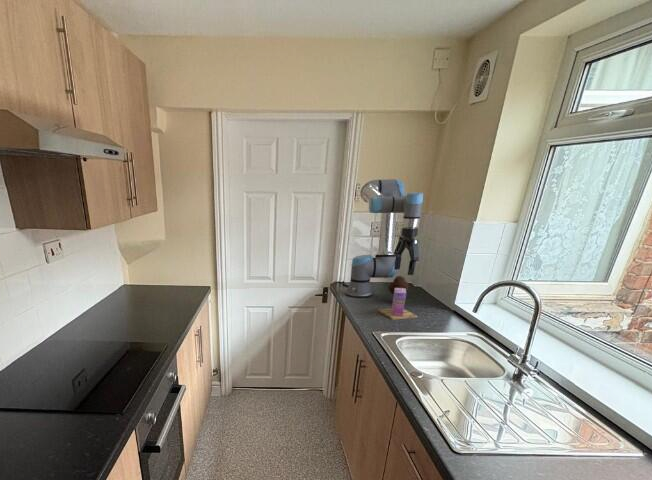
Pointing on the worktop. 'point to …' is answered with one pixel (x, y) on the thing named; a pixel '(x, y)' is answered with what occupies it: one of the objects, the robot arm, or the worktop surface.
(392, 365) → the worktop surface
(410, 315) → the oak board
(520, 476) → the worktop surface
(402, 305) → the box
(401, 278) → the ice cream bowl
